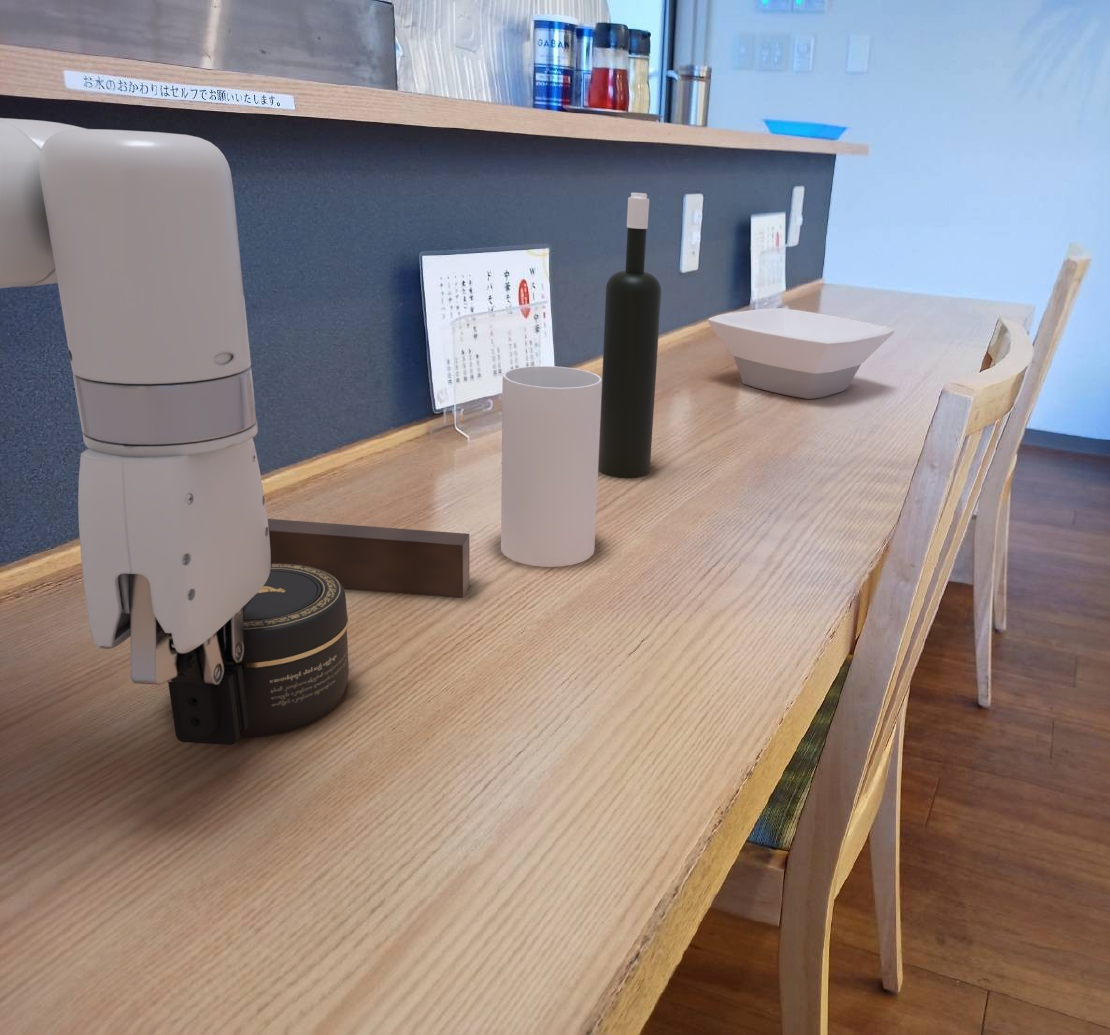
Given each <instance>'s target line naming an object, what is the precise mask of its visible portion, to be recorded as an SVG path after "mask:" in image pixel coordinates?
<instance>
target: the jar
mask: <svg viewBox="0 0 1110 1035" xmlns="http://www.w3.org/2000/svg"><path fill="white" fill-rule="evenodd" d="M346 597H347V596H346V593H345V589H343V586H342V585H341V583H340V582H339V581H338V580H337V579H336V578H335V577H333V576H332V575H330V574H328V573H326V572H324V571H322V570H319V569H316V568H312V567H307V566H302V565H294V564H271V567H270V574H269V577H268V579H267V581H266V583H265V584H264V586H263V587H262V588H261V589H260V590H259V591H258V592H257V593H256V594H255V595H254V597H253V598H252V600H251V601H250V603H249V605H248V606H247V608H246V609H245V612H244V615H245V617H244V618H243V624H244V655H243V658H242V660H241V661H240V662H239V663H234V662H233V664H234V665H242V672H243V681H244V690H245V698H246V707H247V715H248V727H247V728H246V729H245V730H244V732H243V733H241V734H240V736H239V738H242V739H243V738H246V739H247V738H261V737H262V738H263V737H269V736H276V735H277V736H278V735H281V734H285V733H290V732H292V731H296V730H298V729H303V728H304V727H307V726H309V725H312V724H314V723H316V722H318V721H320V720H321V719H323V718H324V717H326V716H327V715H329V714H330V713H332V712H333V711H334V710H335V709H336V708H337V707H338V705H339V704H340V703H341V701H342V699H343V697H344V694H345V692H346V687H347V684H348V679H349V670H350V665H349V664H350V663H349V661H350V660H349V644H348V642H349V641H348V626H349V613H348V608H347V598H346Z"/></svg>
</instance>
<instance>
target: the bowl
mask: <svg viewBox="0 0 1110 1035" xmlns="http://www.w3.org/2000/svg"><path fill="white" fill-rule="evenodd" d="M707 323H708V324H709V326H710V327H711V329H712V330H713V331H714V332H715V334H716V335H717V336H718V338H719V339H720V341H721V343H723V345H724V346H725V347H726V348H727V350H728V352H729V353H730V354H731V356H732V357H733V358H734V362H735V364H736V367H737V371H738V373H739V377H740V379H741V383H742V384H744V385H746V386H749V387H752V388H755V389H759V390H762V391H766V392H770V393H773V394H778V395H784V396H787V397H794V398H799V399H804V400H813V399H821V398H824V397H828V396H829V397H830V396H833V395H836V394H838V393H842V392H844V391H845V390H846V389H848V387H849V386H850V384H851V382H853V379H854V377H856V374H857V372H858V370H859V369H860V367H861V365H862V364H863V363H865V362H866V360H868V358H870V357H871V356H872V355H873V354H874V353H875V352H876V351H877V350H878V349H879V348H880V347H881V346H882V345H883V344H884V343H885V342H886V341H887V340H888V339H889V338H890V337H891V336H892V335H894V333H895V329H894V328H893V327H889V326H885V325H881V324H877V323H874V322H873V323H872V322H867V321H863V320H859V319H852V318H848V317H843V316H837V315H830V314H824V313H819V312H814V311H813V312H812V311H805V310H799V309H791V308H785V307H773V308H759V309H750V310H749V309H748V310H742V311H734V312H728V313H721V314H717V315H715V316H711V317H710V318H708V319H707Z"/></svg>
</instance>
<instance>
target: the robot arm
mask: <svg viewBox="0 0 1110 1035" xmlns="http://www.w3.org/2000/svg"><path fill="white" fill-rule="evenodd" d="M236 211H237V210H236V200H235V191H234V185H233V178H232V171H231V167H230V165H229V162H228V160H227V158H226V157H225V155H224V154H223V152H222V151H221V149H219V147H218V146H216V145H215V144H213V143H212V142H211V141H209V140H206V139H204V138H201V137H199V136H193V135H190V134H181V133H171V132H160V131H143V130H126V129H104V128H102V129H99V128H96V129H95V128H86V127H81V126H77V125H72V124H67V123H62V122H56V121H55V122H54V121H48V120H38V119H37V120H36V119H25V118H24V119H23V118H21V119H20V118H8V117H7V118H4V117H0V289H8V288H26V287H36V286H44V285H45V286H46V285H52V284H54V285H55V284H57V287H58V294H59V299H60V300H59V301H60V306H61V312H62V317H63V325H64V331H65V337H66V343H67V348H68V354H69V361H70V366H71V371H72V378H73V385H74V391H75V397H76V401H77V403H76V404H77V409H78V414H79V420H80V428H81V434H82V439H83V444H84V446H85V447H86V449H84V451H82V452H81V453H80V458H79V459H80V460H79V473H78V493H77V494H78V495H77V496H78V497H77V505H78V506H77V509H78V510H77V511H78V514H77V515H78V534H79V547H80V558H81V569H82V580H83V589H84V596H85V605H86V612H87V618H88V619H87V620H88V623H89V624H88V625H89V630H90V634H91V638H92V641H93V643H94V644H95V646H96V647H97V649H100V650H101V649H104V650H111V649H114V648H116V647H118V646H119V645H121V644H122V643H124V642H125V641H126V640H128V639H129V638H130V680H131V681H132V683H133V684H140V685H155V686H160V685H163V684H165V683H167V684H168V685H167V686H168V690H169V696H170V705H171V711H172V717H173V725H174V731H175V736H176V739H177V740H178V741H179V742H182V743H188V744H189V743H190V744H207V745H226V746H231V745H234V744H235V742H237V741H238V739H239V738H240V737H239V736H240V734H241V733H243V732H244V730H245V729H246V728H247V727H248V715H247V707H246V698H245V690H244V681H243V672H242V665H234V664H233V662H234V663H239V662H240V661H241V660H242V658H243V655H244V624H243V618H244V617H245V615H244V612H245V609H246V608H247V606H248V605H249V603H250V601H251V600H252V598H253V597H254V595H255V594H256V593H257V592H258V591H259V590H260V589H261V588H262V587H263V586H264V584H265V583H266V581H267V579H268V577H269V574H270V567H271V554H270V538H269V528H268V519H269V518H268V513H267V505H266V498H265V493H264V486H263V481H262V475H261V471H260V464H259V459H258V454H257V450H256V445H255V442H254V438H255V437H256V436H257V434H258V432H259V426H258V420H257V418H258V417H257V409H256V408H257V407H256V399H255V398H256V397H255V389H254V381H253V380H254V379H253V371H252V370H253V368H252V361H251V349H250V340H249V330H248V320H247V310H246V300H245V290H244V281H243V280H244V279H243V270H242V263H241V262H242V261H241V260H242V259H241V251H240V242H239V231H238V230H239V229H238V224H237V223H238V220H237V212H236Z"/></svg>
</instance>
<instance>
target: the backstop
mask: <svg viewBox="0 0 1110 1035" xmlns="http://www.w3.org/2000/svg"><path fill="white" fill-rule="evenodd" d="M267 519H268V528H269V538H270V554H271V564H294V565H302V566H307V567H312V568H316V569H319V570H322V571H324V572H326V573H328V574H330V575H332V576H333V577H335V578H336V579H337V580H338V581H339V582H340V583H341V585H342V586H343V589H344V590H350V591H364V592H377V593H391V594H393V593H394V594H403V595H404V594H406V595H418V596H433V597H445V598H460V599H463V598H464V597H465V595H466V593H467V591H468V590H469V588H470V586H471V585H470V582H471V581H470V579H471V578H470V574H471V572H470V567H471V565H470V564H471V562H470V561H471V560H470V556H471V555H470V552H471V551H470V549H471V548H470V546H471V545H470V533H465V532H449V531H436V530H424V529H421V530H420V529H410V528H399V527H398V528H397V527H396V528H395V527H382V526H370V525H358V524H343V523H330V522H329V523H328V522H318V521H317V522H316V521H305V520H303V521H302V520H290V519H289V520H288V519H278V518H267Z"/></svg>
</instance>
